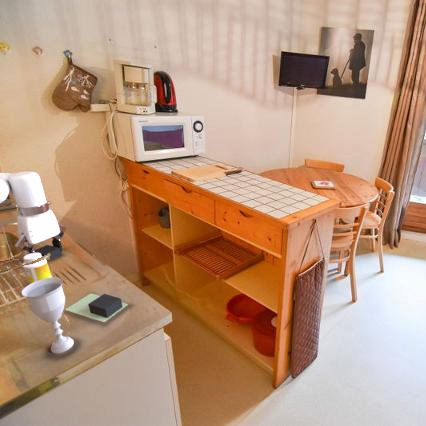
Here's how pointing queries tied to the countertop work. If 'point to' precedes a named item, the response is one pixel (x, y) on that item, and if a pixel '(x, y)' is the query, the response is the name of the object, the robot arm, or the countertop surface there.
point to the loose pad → (50, 251)
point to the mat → (83, 308)
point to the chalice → (49, 307)
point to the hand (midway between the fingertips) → (48, 255)
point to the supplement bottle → (36, 268)
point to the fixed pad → (105, 305)
